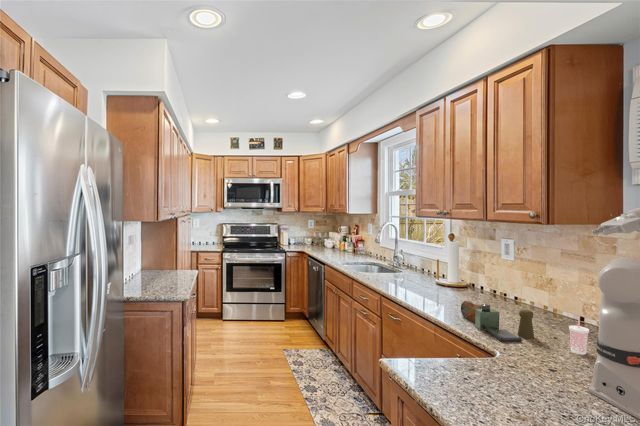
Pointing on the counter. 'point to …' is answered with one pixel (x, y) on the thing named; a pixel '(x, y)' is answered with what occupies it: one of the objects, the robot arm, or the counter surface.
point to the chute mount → (493, 324)
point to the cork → (526, 324)
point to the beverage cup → (578, 338)
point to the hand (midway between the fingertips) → (598, 232)
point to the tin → (469, 310)
